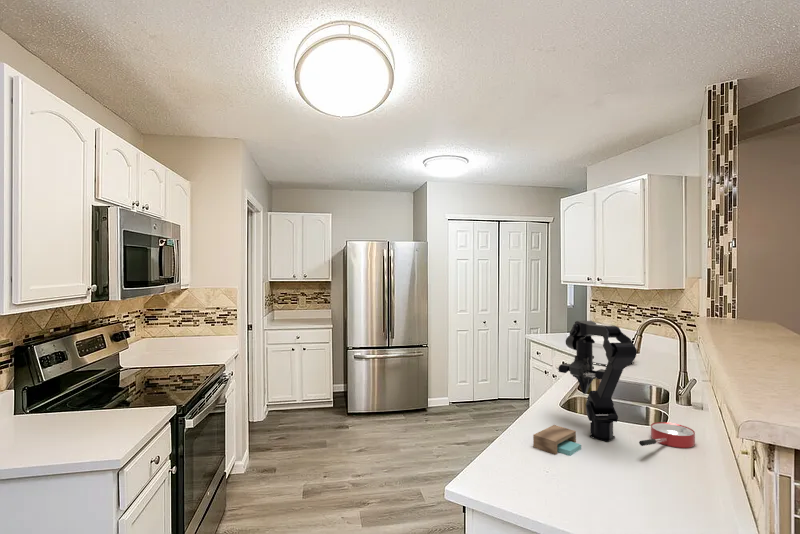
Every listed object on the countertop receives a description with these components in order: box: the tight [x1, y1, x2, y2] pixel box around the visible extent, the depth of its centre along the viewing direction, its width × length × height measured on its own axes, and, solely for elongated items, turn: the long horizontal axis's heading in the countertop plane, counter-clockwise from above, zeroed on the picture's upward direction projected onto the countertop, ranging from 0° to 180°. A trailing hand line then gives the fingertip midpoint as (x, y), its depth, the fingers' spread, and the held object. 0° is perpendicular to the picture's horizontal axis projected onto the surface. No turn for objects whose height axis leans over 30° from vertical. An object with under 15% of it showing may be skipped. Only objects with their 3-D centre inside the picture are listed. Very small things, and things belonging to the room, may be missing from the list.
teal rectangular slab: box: [557, 440, 582, 457], centre depth 144 cm, size 10×8×2 cm
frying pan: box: [638, 421, 696, 449], centre depth 143 cm, size 32×13×6 cm, turn 135°
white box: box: [591, 336, 636, 366], centre depth 279 cm, size 34×29×15 cm
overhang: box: [532, 424, 577, 456], centre depth 146 cm, size 8×14×4 cm, turn 132°
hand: (584, 393), depth 166 cm, fingers closed
